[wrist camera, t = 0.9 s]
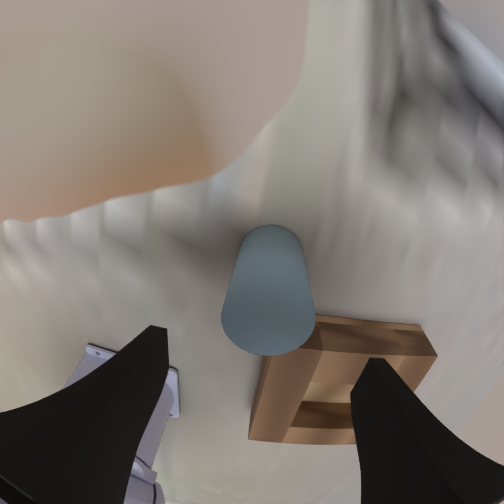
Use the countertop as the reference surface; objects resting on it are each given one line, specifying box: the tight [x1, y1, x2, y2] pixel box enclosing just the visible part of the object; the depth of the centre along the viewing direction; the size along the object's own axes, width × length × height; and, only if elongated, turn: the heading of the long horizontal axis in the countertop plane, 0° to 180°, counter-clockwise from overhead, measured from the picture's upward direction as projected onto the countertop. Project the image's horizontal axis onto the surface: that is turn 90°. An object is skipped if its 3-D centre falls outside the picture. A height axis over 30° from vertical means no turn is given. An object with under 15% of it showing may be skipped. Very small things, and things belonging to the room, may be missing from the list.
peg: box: [221, 225, 316, 356], centre depth 15 cm, size 4×4×7 cm
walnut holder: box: [248, 315, 437, 445], centre depth 21 cm, size 12×12×4 cm
